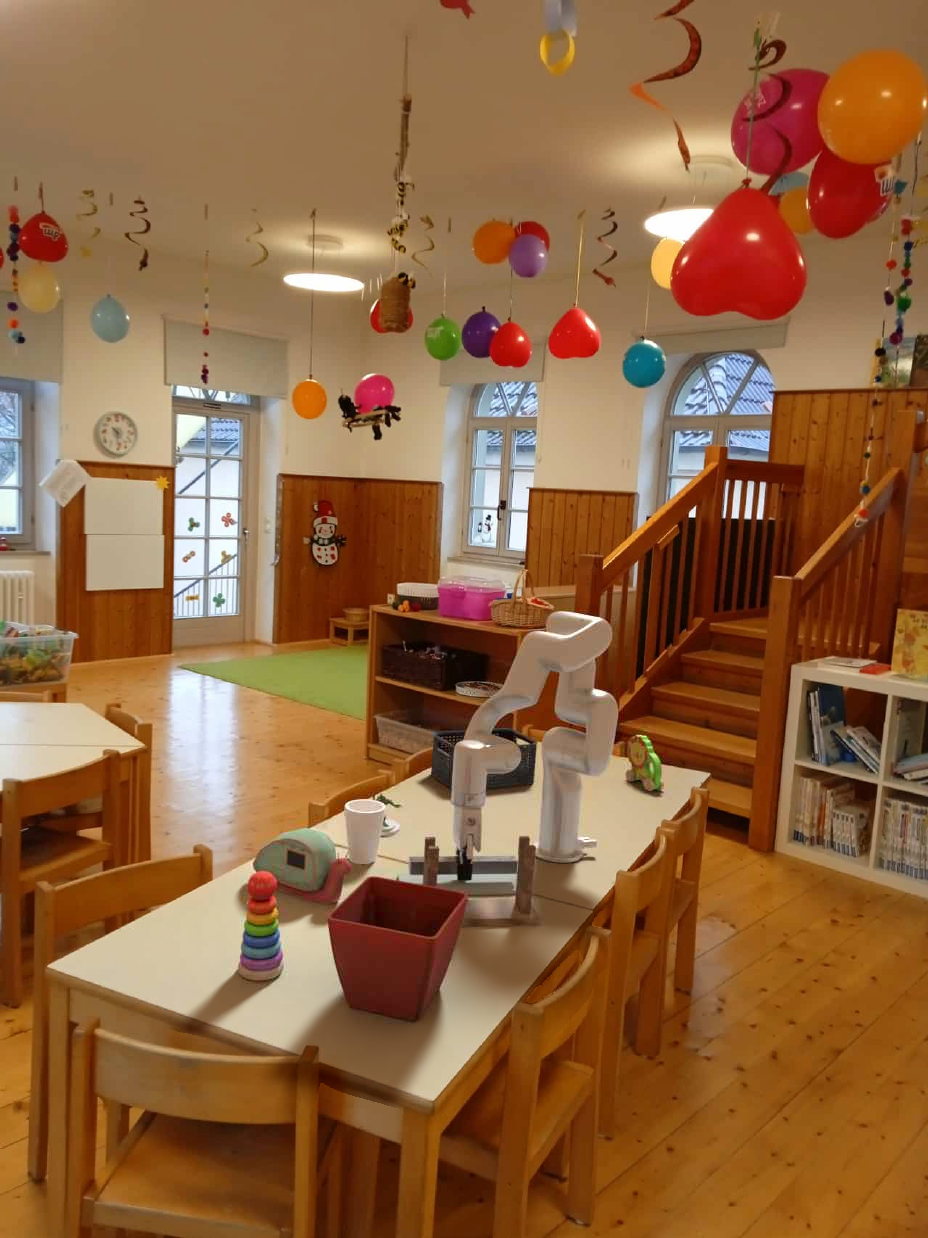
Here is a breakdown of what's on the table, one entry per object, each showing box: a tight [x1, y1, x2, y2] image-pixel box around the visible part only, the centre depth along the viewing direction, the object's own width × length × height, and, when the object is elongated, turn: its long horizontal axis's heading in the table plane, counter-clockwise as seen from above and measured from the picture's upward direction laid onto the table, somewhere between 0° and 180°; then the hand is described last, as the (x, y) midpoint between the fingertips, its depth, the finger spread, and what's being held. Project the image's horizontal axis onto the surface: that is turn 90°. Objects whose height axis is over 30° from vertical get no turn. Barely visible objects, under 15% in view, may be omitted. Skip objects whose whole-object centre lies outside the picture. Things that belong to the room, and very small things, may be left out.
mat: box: [396, 873, 517, 896], centre depth 209 cm, size 28×10×1 cm, turn 101°
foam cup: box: [344, 798, 387, 865], centre depth 219 cm, size 10×9×13 cm
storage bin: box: [430, 727, 538, 790], centre depth 287 cm, size 29×19×13 cm
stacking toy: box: [237, 871, 285, 982], centre depth 166 cm, size 8×8×19 cm
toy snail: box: [252, 827, 353, 905], centre depth 200 cm, size 25×8×14 cm, turn 58°
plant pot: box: [327, 875, 469, 1022], centre depth 161 cm, size 19×19×17 cm
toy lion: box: [625, 734, 665, 792], centre depth 291 cm, size 16×5×15 cm, turn 25°
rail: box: [408, 855, 518, 875], centre depth 209 cm, size 24×3×3 cm, turn 101°
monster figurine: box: [371, 789, 403, 837], centre depth 240 cm, size 12×12×10 cm
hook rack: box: [423, 835, 541, 927], centre depth 194 cm, size 25×9×16 cm, turn 101°
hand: (462, 875), depth 209 cm, fingers closed on rail, 3 cm apart
